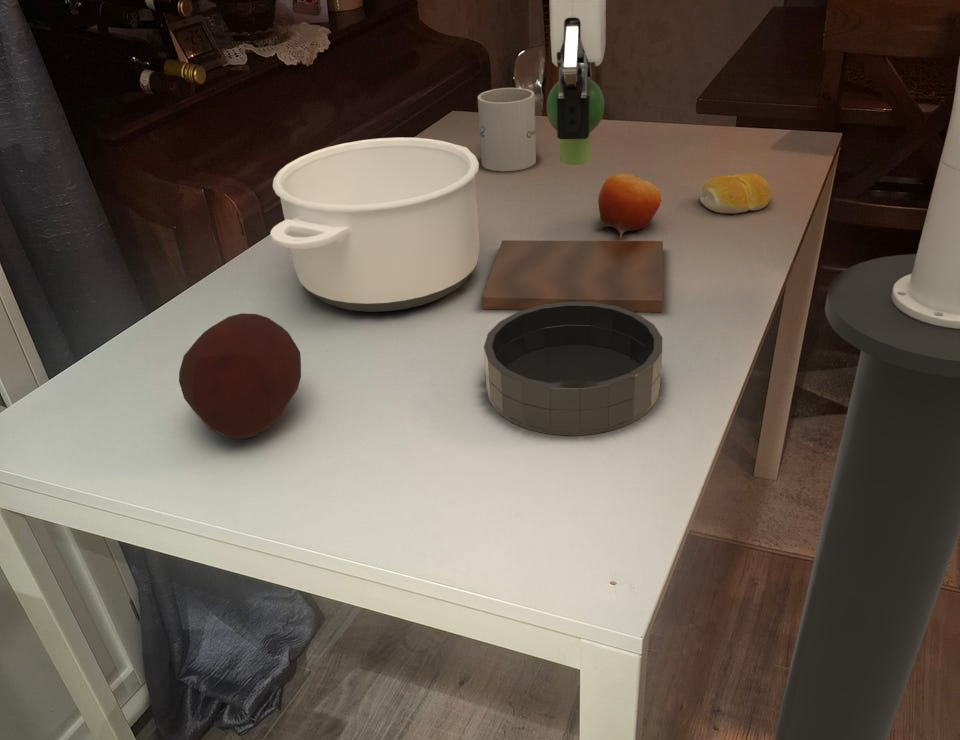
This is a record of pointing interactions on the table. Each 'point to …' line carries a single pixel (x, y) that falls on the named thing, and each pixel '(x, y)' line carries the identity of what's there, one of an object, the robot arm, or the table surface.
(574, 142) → the broccoli
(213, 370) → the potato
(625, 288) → the board
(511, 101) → the mug
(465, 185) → the pot
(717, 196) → the bread roll
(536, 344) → the pan
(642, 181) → the fruit
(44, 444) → the table surface
